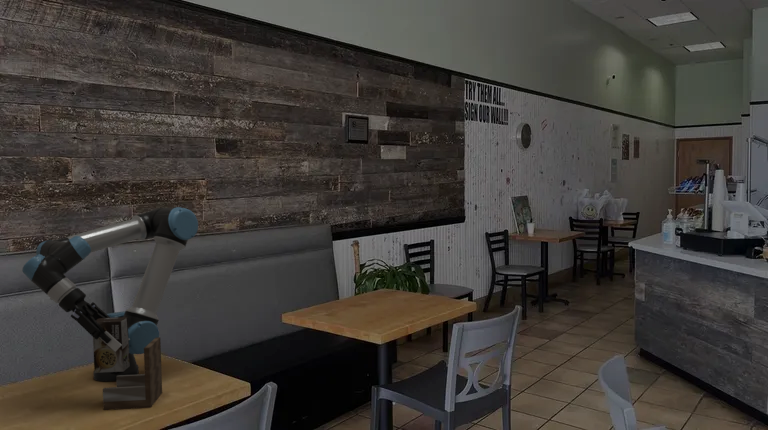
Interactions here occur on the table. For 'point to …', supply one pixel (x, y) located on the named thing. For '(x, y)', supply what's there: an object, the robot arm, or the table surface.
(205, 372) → the table surface
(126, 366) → the coffee box
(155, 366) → the walnut shelf slot
